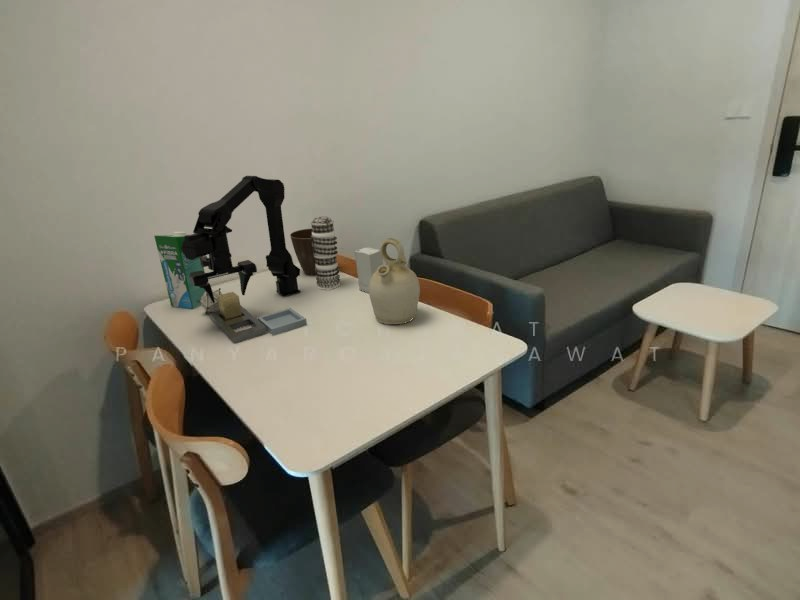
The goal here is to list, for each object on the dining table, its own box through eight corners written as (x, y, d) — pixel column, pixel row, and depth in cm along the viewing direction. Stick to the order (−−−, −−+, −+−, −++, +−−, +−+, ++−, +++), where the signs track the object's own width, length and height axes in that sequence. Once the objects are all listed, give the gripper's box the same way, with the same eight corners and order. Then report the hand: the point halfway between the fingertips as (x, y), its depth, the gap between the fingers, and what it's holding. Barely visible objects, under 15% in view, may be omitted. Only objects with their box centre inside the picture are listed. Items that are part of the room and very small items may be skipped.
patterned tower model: (311, 285, 179) (303, 218, 169) (332, 279, 184) (325, 214, 175) (324, 292, 172) (317, 222, 163) (346, 285, 178) (340, 217, 168)
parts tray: (291, 313, 156) (290, 308, 155) (306, 324, 148) (306, 318, 147) (258, 323, 150) (257, 317, 149) (272, 335, 142) (271, 329, 141)
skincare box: (386, 290, 171) (383, 250, 165) (373, 295, 167) (370, 254, 161) (370, 285, 177) (367, 245, 171) (357, 290, 173) (354, 249, 167)
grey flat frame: (241, 310, 160) (240, 305, 159) (267, 333, 143) (266, 327, 142) (210, 319, 154) (209, 313, 154) (234, 343, 138) (232, 337, 137)
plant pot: (337, 266, 199) (333, 227, 193) (328, 278, 185) (324, 238, 179) (301, 266, 200) (296, 228, 194) (290, 279, 187) (284, 238, 181)
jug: (393, 332, 140) (388, 249, 130) (360, 317, 151) (354, 239, 141) (431, 316, 149) (429, 237, 140) (397, 303, 160) (394, 228, 151)
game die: (222, 320, 163) (237, 294, 162) (210, 322, 154) (225, 295, 153) (201, 306, 163) (215, 280, 162) (187, 307, 155) (202, 280, 154)
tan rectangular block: (237, 316, 156) (233, 291, 153) (243, 321, 152) (238, 296, 149) (222, 320, 153) (217, 295, 150) (227, 325, 149) (222, 300, 146)
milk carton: (210, 299, 171) (196, 229, 161) (192, 309, 163) (176, 236, 153) (189, 297, 174) (174, 228, 164) (171, 306, 166) (153, 235, 156)
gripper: (240, 238, 155) (248, 284, 161) (179, 251, 145) (190, 299, 151) (253, 245, 147) (261, 293, 153) (189, 259, 137) (200, 310, 143)
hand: (228, 298), depth 150 cm, fingers open, 9 cm apart
